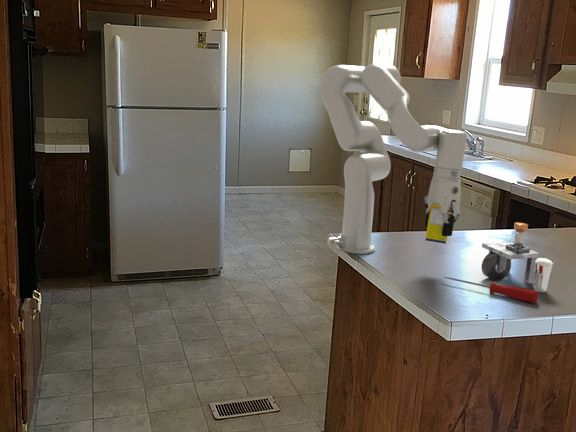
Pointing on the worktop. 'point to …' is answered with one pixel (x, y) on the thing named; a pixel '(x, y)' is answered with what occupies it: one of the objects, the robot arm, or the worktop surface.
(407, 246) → the worktop surface
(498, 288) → the screwdriver
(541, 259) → the milkshake
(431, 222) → the supplement box
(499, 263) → the grey flat-topped wheeled fixture
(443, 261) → the worktop surface
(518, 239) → the light bulb
